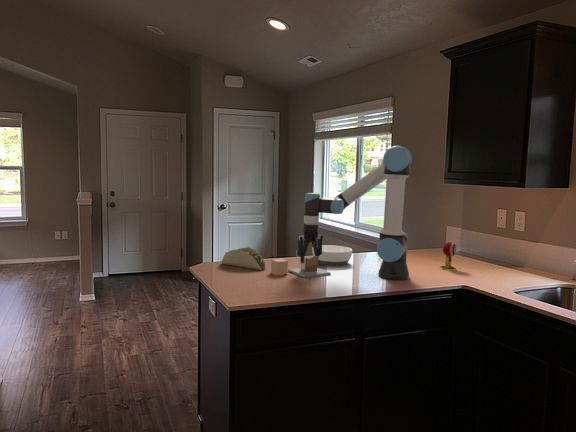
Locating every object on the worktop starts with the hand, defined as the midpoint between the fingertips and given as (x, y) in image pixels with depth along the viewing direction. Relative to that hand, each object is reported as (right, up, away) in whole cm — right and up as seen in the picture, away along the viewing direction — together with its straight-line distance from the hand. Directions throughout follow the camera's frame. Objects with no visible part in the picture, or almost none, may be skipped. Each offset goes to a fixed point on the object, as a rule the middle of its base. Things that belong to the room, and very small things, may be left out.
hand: (309, 268), depth 253 cm
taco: (-35, 0, +11) cm, 36 cm away
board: (0, -2, 0) cm, 2 cm away
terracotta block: (-15, -2, -3) cm, 16 cm away
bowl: (+14, 0, +28) cm, 31 cm away
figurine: (+78, -3, +22) cm, 81 cm away
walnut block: (0, -1, 0) cm, 1 cm away
